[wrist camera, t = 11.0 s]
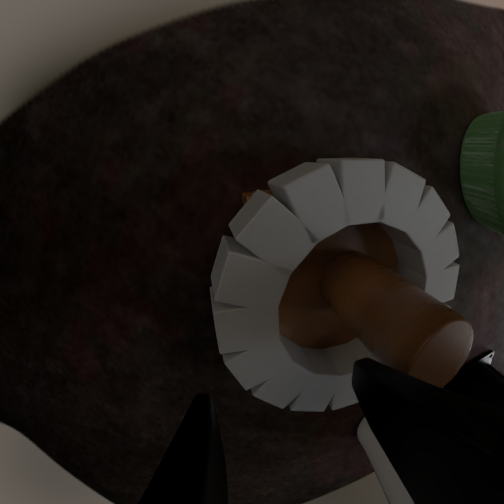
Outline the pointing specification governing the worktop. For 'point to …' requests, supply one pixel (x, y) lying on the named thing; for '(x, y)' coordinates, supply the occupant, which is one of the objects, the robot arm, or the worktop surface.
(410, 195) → the segmented block ring
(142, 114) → the worktop surface
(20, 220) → the worktop surface
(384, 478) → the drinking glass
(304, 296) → the wooden peg stand
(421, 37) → the worktop surface
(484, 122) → the ramekin
